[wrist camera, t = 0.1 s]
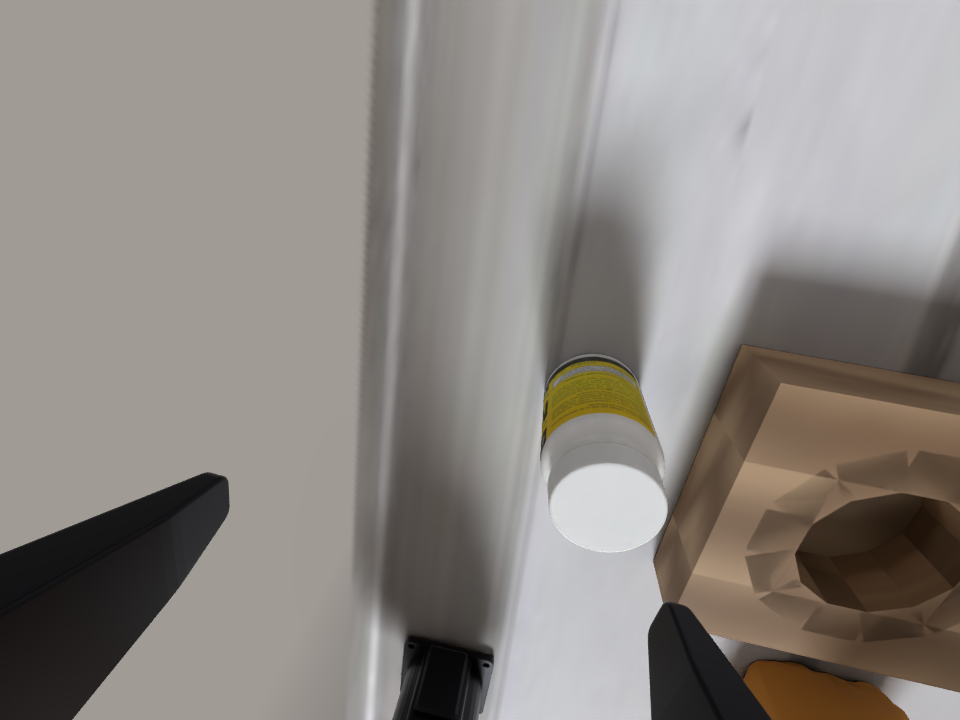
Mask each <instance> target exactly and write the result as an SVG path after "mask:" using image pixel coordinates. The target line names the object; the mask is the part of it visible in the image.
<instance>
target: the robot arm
mask: <svg viewBox="0 0 960 720" xmlns="http://www.w3.org/2000/svg"><path fill="white" fill-rule="evenodd" d="M228 486H229V485H228V480H227V478H226V477H224V476H221V475H217V474H214V473H209V472H207V473H203V474H200V475H198V476H195V477H192V478H190V479H187V480H185V481H182V482H180V483H177V484H175V485H172V486H170V487H168V488H165V489H162V490H160V491H157V492H155V493H152V494H150V495H147V496H145V497H142V498H140V499H137V500H135V501H133V502H130V503H127V504H125V505H123V506H120V507H118V508H115V509H112V510H110V511H107V512H105V513H102V514H100V515H97V516H95V517H92V518H90V519H88V520H85V521H82V522H80V523H78V524H75V525H72V526H70V527H68V528H65V529H63V530H60V531H57V532H55V533H52V534H50V535H47V536H45V537H43V538H40V539H38V540H35V541H32V542H30V543H27V544H25V545H23V546H20V547H17V548H15V549H13V550H10V551H7V552H5V553H2V554H0V720H72V719H73V718H74V717H75V716H76V714H77V713H78V712H79V711H80V709H81V708H82V707H83V706H84V704H85V703H86V702H87V701H88V700H89V698H90V697H91V696H92V695H93V693H94V692H95V691H96V689H97V688H98V687H99V686H100V684H102V682H103V681H104V680H105V679H106V677H107V676H108V675H109V674H110V672H111V671H112V670H113V669H114V667H115V666H116V665H117V664H118V663H119V661H120V660H121V659H122V658H123V656H124V655H125V654H126V653H127V651H128V650H129V649H130V648H131V646H132V645H133V644H134V643H135V642H136V640H137V639H138V638H139V637H140V635H141V634H142V633H143V632H144V631H145V629H146V628H147V627H148V626H149V624H150V623H151V622H152V621H153V619H154V618H155V617H156V616H157V614H158V613H159V612H160V611H161V609H162V608H163V607H164V606H165V605H166V603H167V602H168V601H169V600H170V598H171V597H172V596H173V594H174V593H175V592H176V591H177V589H178V588H179V587H180V585H181V584H182V582H183V581H184V580H185V578H186V577H187V575H188V574H189V572H190V571H191V569H192V568H193V566H194V565H195V563H196V562H197V560H198V559H199V557H200V556H201V554H202V553H203V551H204V550H205V549H206V547H207V546H208V544H209V542H210V541H211V539H212V538H213V536H214V535H215V534H216V532H217V530H218V529H219V528H220V526H221V524H222V523H223V522H224V520H225V518H226V517H227V514H228V512H229V487H228ZM648 654H649V676H650V699H651V719H652V720H772V719H771V717H770V716H769V715H768V713H767V712H766V711H765V709H764V708H763V707H762V705H761V704H760V703H759V701H758V700H757V699H756V697H755V696H754V694H753V693H752V692H751V690H750V689H749V688H748V686H747V685H746V684H745V682H744V681H743V680H742V678H741V677H740V676H739V674H738V673H737V671H736V670H735V669H734V667H733V666H732V665H731V663H730V662H729V661H728V659H727V658H726V657H725V655H724V654H723V653H722V651H721V650H720V649H719V647H718V646H717V644H716V643H715V642H714V640H713V639H712V638H711V636H710V635H709V634H708V632H707V631H706V630H705V628H704V627H703V626H702V624H701V623H700V621H699V620H698V619H697V617H696V616H695V615H694V613H693V612H692V611H691V610H690V609H689V608H688V607H687V606H685V605H682V604H678V603H674V602H671V601H666V602H664V603H663V605H662V606H661V608H660V610H659V612H658V613H657V615H656V617H655V619H654V620H653V622H652V624H651V626H650V629H649V633H648ZM493 665H494V659H493V658H492V657H491V656H489V655H485V654H481V653H477V652H473V651H469V650H465V649H461V648H457V647H453V646H449V645H445V644H441V643H437V642H433V641H429V640H425V639H421V638H417V637H411V636H410V637H408V638H407V639H406V642H405V646H404V656H403V667H402V677H401V687H400V691H401V692H400V696H399V699H398V703H397V706H396V709H395V713H394V716H393V719H392V720H478V716H479V714H481V713H482V712H483V709H484V704H485V700H486V696H487V691H488V687H489V683H490V679H491V674H492V670H493Z"/></svg>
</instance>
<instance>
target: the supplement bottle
mask: <svg viewBox="0 0 960 720" xmlns="http://www.w3.org/2000/svg"><path fill="white" fill-rule="evenodd" d="M540 461H541V471H542V475H543V478H544V481H545V483H546V485H547V489H548V499H549V512H550V515H551V518H552V521H553V523H554V525H555V526H556V528H557V529H558V530H559V531H560V533H561V534H562V535H563V536H565V537H566V538H567V539H568V540H570V541H571V542H573V543H575V544H576V545H579V546H581V547H583V548H586V549H589V550H593V551H598V552H622V551H627V550H630V549H633V548H636V547H639V546H641V545H643V544H645V543H646V542H648V541H649V540H651V539H652V538H653V537H654V536H655V535H656V534H657V533H658V532H659V531H660V529H661V528H662V526H663V525H664V522H665V520H666V517H667V511H668V503H667V497H666V494H665V490H664V486H663V482H662V481H663V478H664V473H665V461H664V455H663V451H662V448H661V445H660V442H659V439H658V437H657V434H656V431H655V429H654V426H653V423H652V420H651V418H650V415H649V412H648V409H647V406H646V403H645V401H644V398H643V395H642V391H641V389H640V386H639V383H638V381H637V379H636V377H635V376H634V374H633V373H632V372H631V370H630V369H629V368H628V367H627V366H626V365H624V364H623V363H622V362H620V361H619V360H617V359H615V358H613V357H610V356H607V355H602V354H584V355H579V356H576V357H573V358H571V359H569V360H567V361H565V362H564V363H562V364H561V365H560V366H558V367H557V368H556V369H555V370H554V372H553V373H552V374H551V376H550V377H549V379H548V381H547V384H546V387H545V392H544V407H543V422H542V440H541V456H540Z"/></svg>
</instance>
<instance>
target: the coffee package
mask: <svg viewBox="0 0 960 720" xmlns="http://www.w3.org/2000/svg"><path fill="white" fill-rule="evenodd" d="M743 681H744V682H745V684H746V685H747V686H748V688H749V689H750V690H751V692H752V693H753V694H754V696H755V697H756V699H757V700H758V701H759V703H760V704H761V705H762V707H763V708H764V709H765V711H766V712H767V713H768V715H769V716H770V717H771V719H772V720H909V718H908V717H907V715H906V714H905V712H904V711H903V710H902V709H900V708H899V707H898V706H896V705H895V704H893V703H892V702H891V700H890V699H889V698H888V697H887V696H886V695H885V694H884V693H882V692H881V691H880V690H879V689H877V688H876V687H875V686H873V685H871V684H869V683H866V682H863V681H860V682H850V681H845V680H842V679H839V678H837V677H835V676H833V675H832V674H829V673H821V672H816V671H811V670H809V669H807V668H806V667H805V666H804V665H800V664H798V663H793V662H785V663H782V662H776V661H764V660H760V661H755V662H754V663H752V664H751V665H750V666H749V667H748V669H747V672H746V675H745V677H744V679H743Z"/></svg>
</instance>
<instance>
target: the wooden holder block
mask: <svg viewBox="0 0 960 720" xmlns="http://www.w3.org/2000/svg"><path fill="white" fill-rule="evenodd" d="M653 563H654V567H655V571H656V575H657V579H658V584H659V588H660V592H661V596H662V600H663V603H664V602H666V601H671V602H674V603H678V604H682V605H685V606H687V607H688V608H689V609H690V610H691V611H692V612H693V613H694V615H695V616H696V617H697V619H698V620H699V621H700V623H701V624H702V626H703V627H704V628H705V630H706V631H707V632H708V634H712V635H716V636H721V637H725V638H729V639H733V640H738V641H742V642H746V643H750V644H755V645H759V646H763V647H768V648H772V649H776V650H780V651H785V652H789V653H793V654H798V655H802V656H806V657H810V658H815V659H819V660H823V661H828V662H832V663H836V664H840V665H845V666H849V667H853V668H857V669H862V670H866V671H870V672H875V673H879V674H883V675H887V676H892V677H896V678H900V679H905V680H909V681H913V682H917V683H922V684H926V685H930V686H934V687H939V688H943V689H947V690H952V691H956V692H960V383H958V382H953V381H947V380H941V379H935V378H930V377H924V376H918V375H913V374H907V373H901V372H896V371H890V370H884V369H879V368H873V367H867V366H862V365H856V364H850V363H844V362H839V361H833V360H827V359H822V358H816V357H810V356H805V355H799V354H793V353H788V352H782V351H776V350H771V349H765V348H759V347H754V346H748V345H742V346H741V348H740V351H739V353H738V355H737V358H736V360H735V363H734V365H733V368H732V370H731V373H730V375H729V377H728V380H727V382H726V385H725V387H724V390H723V392H722V395H721V397H720V399H719V402H718V404H717V407H716V409H715V412H714V414H713V417H712V419H711V421H710V424H709V426H708V429H707V431H706V434H705V436H704V439H703V441H702V443H701V446H700V448H699V451H698V453H697V456H696V458H695V461H694V463H693V465H692V468H691V470H690V473H689V475H688V478H687V480H686V483H685V485H684V487H683V490H682V492H681V495H680V497H679V500H678V502H677V504H676V507H675V509H674V512H673V514H672V517H671V519H670V522H669V524H668V526H667V529H666V531H665V534H664V536H663V539H662V541H661V544H660V546H659V548H658V551H657V553H656V556H655V558H654V561H653Z"/></svg>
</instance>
